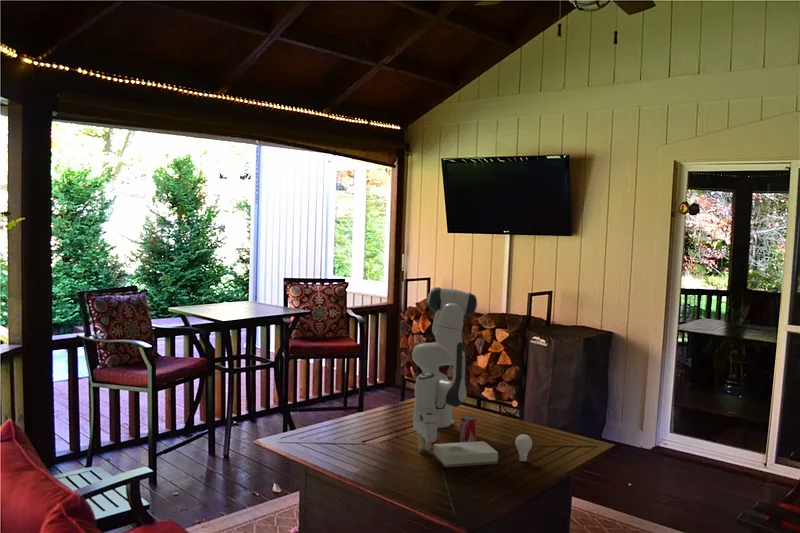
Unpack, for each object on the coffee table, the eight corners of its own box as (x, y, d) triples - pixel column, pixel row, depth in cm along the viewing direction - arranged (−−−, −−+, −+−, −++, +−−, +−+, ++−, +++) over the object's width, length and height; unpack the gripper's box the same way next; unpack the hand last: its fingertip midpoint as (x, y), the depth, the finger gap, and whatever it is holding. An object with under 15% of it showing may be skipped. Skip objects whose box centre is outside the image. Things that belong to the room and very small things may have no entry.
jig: (433, 455, 256) (433, 444, 256) (483, 451, 262) (483, 441, 262) (445, 467, 243) (445, 455, 243) (497, 463, 249) (498, 452, 249)
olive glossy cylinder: (416, 450, 261) (417, 434, 260) (426, 450, 262) (427, 433, 262) (419, 454, 257) (420, 437, 256) (430, 453, 258) (430, 436, 257)
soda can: (475, 447, 267) (476, 419, 266) (458, 446, 268) (459, 418, 268) (476, 442, 274) (477, 415, 273) (460, 441, 275) (461, 414, 275)
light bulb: (511, 459, 254) (512, 432, 253) (525, 458, 256) (526, 431, 256) (520, 465, 247) (521, 438, 247) (534, 463, 250) (535, 436, 250)
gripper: (410, 406, 268) (409, 438, 268) (425, 420, 248) (423, 454, 249) (424, 405, 269) (423, 437, 270) (440, 419, 250) (439, 453, 250)
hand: (423, 445), depth 259 cm, fingers open, 7 cm apart
